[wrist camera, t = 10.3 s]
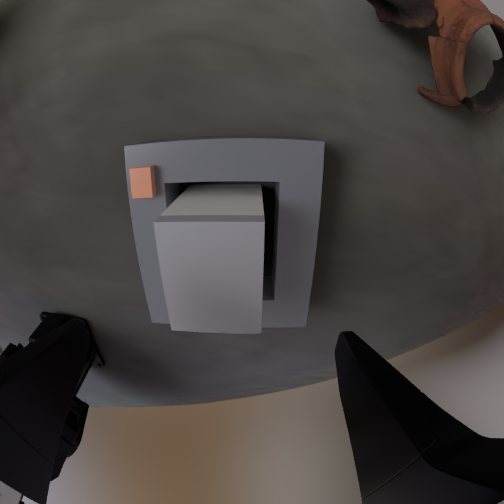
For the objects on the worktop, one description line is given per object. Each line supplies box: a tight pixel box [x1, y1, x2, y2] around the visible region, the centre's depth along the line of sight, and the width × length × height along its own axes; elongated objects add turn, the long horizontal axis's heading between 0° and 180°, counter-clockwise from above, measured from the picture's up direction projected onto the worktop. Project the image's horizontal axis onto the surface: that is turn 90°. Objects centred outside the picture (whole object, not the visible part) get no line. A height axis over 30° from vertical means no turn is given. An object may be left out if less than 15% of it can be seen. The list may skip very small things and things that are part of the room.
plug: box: [154, 184, 265, 334], centre depth 15 cm, size 6×4×7 cm
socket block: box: [124, 136, 325, 327], centre depth 16 cm, size 12×10×4 cm
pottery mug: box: [367, 0, 504, 114], centre depth 10 cm, size 12×10×8 cm
